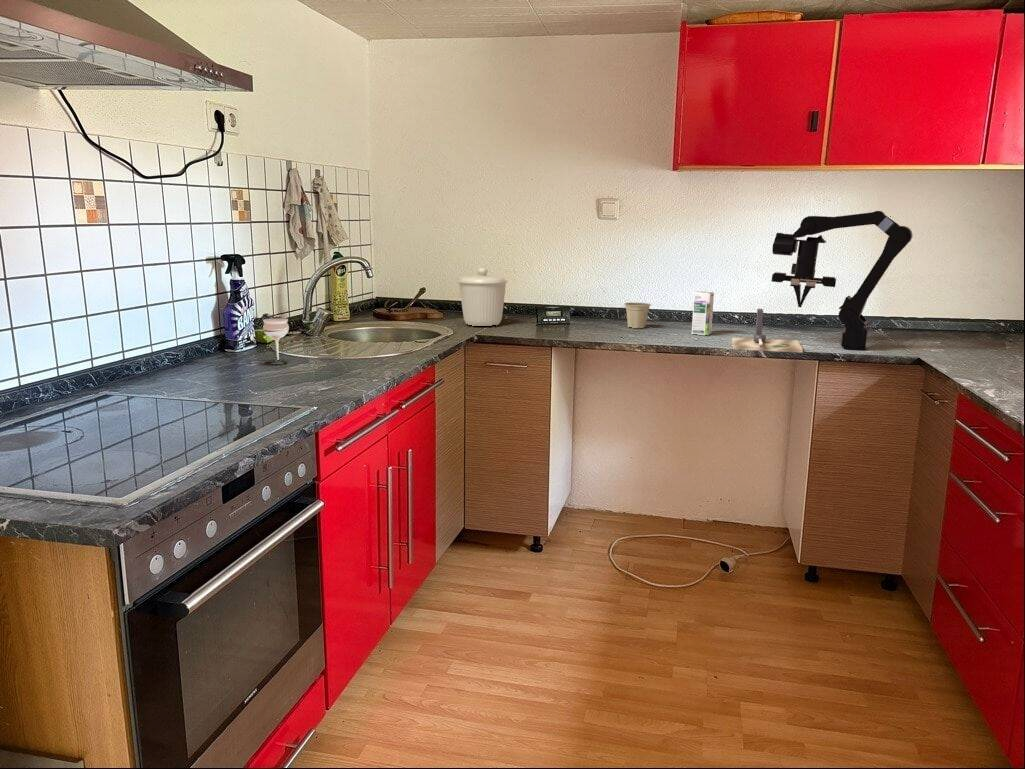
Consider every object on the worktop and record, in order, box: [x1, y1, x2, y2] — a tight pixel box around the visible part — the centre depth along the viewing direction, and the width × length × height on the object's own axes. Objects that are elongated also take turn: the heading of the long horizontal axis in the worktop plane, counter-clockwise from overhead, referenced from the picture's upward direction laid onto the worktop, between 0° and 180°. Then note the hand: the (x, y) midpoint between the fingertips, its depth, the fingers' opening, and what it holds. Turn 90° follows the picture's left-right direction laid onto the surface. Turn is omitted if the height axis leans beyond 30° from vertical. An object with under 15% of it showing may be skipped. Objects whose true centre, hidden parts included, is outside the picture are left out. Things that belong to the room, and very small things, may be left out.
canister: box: [457, 267, 508, 327], centre depth 280 cm, size 18×18×21 cm
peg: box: [753, 308, 767, 345], centre depth 241 cm, size 4×20×9 cm, turn 165°
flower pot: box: [624, 302, 652, 329], centre depth 277 cm, size 9×9×9 cm
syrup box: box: [691, 291, 715, 336], centre depth 262 cm, size 6×6×14 cm
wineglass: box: [262, 317, 290, 361], centre depth 209 cm, size 7×7×12 cm
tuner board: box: [731, 337, 804, 353], centre depth 240 cm, size 20×17×1 cm
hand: (799, 307), depth 242 cm, fingers closed
